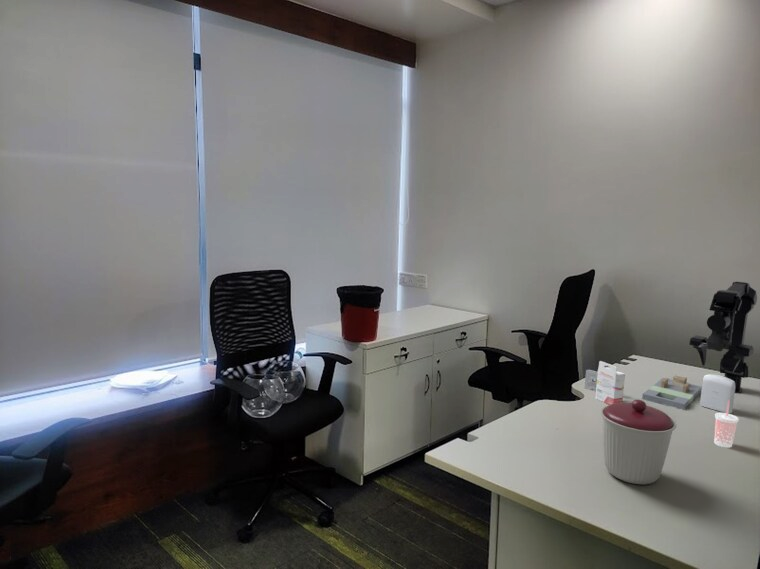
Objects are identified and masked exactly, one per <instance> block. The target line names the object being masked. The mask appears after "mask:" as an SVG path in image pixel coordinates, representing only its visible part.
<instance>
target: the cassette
mask: <svg viewBox="0 0 760 569" xmlns="http://www.w3.org/2000/svg"><path fill="white" fill-rule="evenodd" d="M597 375H598V370H597V371H596V370H591V369H586V370H585V378H584V389H586V390H588V391H593V392H596V385H597Z"/></svg>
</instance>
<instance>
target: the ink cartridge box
mask: <svg viewBox="0 0 760 569" xmlns="http://www.w3.org/2000/svg"><path fill="white" fill-rule="evenodd" d="M597 372H598V375H597V385H596V391H595V397H594V398H595V399H596V400H597V401H601V402H602V403H605V404H606V405H611V404H614V403H623V402H624V401H623V400H624V391H625V390H624V388H625V379H626V373H624V372H621V371H618V367H617V366H615V365H613V364H610V363H607V362H605V361H602V360H599V362H598V369H597Z"/></svg>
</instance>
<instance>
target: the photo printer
mask: <svg viewBox="0 0 760 569" xmlns="http://www.w3.org/2000/svg"><path fill="white" fill-rule="evenodd" d="M701 387H702V390H701V392H700V402H699V406H700V407H703V408H704V407H705V408H707V409H709V410H710V409H711V410H715V411H718V412H720V413H726V412H727V405H728V401H730V404H729V411H728V414H732V413H733V410H734V402H735V400H734V399H735V393H736V392H735V382H734V381H733V380H731V379H729V378H726V377H724V376H722V375H719V374H704V376H703V379H702V384H701Z"/></svg>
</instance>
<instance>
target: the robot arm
mask: <svg viewBox="0 0 760 569" xmlns="http://www.w3.org/2000/svg"><path fill="white" fill-rule="evenodd" d="M757 294H758V293H757V291H756V290H755V289H754V288H752V287H751V285H750V283H748V282H745V281H733V282H732V284H731V285H730V287H728V288H727V289H720V290H717V291H716V292H715V293H714V294H713V297H712V300H711V304H710V307H709V311H711V312H713V314H712V315H710V316H709V317H708V318H707V320H706V325H707V327H708V329H710V330H711V334H710V335H709V336H708V338H707V337H705V336H702V335H694V336H692V337H691V338H690V339H689V343H688V344H689V345H690V346H692V347H693V348H694V349H696V350H697V352H698V355H699V357H700V360H701V361H700V362H701V365H702V366H703V367H704V366H706V361H707V350H712V351H713V350H714V351H716V352H722V351H723V350H727V351H726V352H725V353H724V354H723V355H722V358H721V359H720V362H719V363H720V364H719V373H720V374H724V376H723V377H726V378H729V379H731V380H733V381H734V382H735V393H738V394H740V393H741V392H742V390H743V387H741V385H742V380H743V379H745V378H749V374H750V373H749V366H748V362H747V357H748V358H749V357H750V356H752V355H753V354H754V351H755V350H754V347H753V346H752V345H749V344H748V345H747V344H744V343H745V342H744V341H745V334H746V331H747V330H746V328H747V324H748V323H747V322H748V314H749V313H751V311H752V310H753V309H755V305H756V304H757V300H758V295H757ZM742 378H743V379H742Z"/></svg>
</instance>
